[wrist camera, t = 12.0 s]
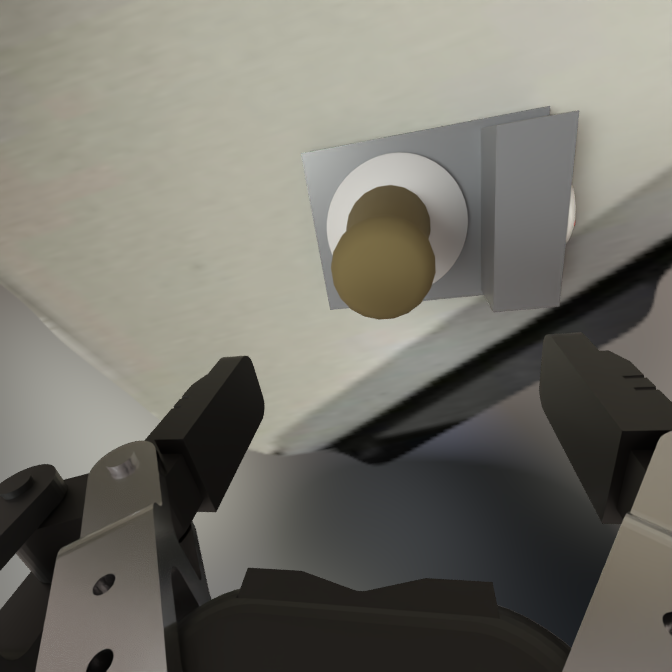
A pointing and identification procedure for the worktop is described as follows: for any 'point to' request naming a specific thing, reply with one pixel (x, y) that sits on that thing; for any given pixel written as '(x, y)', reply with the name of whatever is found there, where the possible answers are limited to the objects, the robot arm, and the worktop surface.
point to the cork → (385, 254)
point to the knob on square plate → (466, 202)
